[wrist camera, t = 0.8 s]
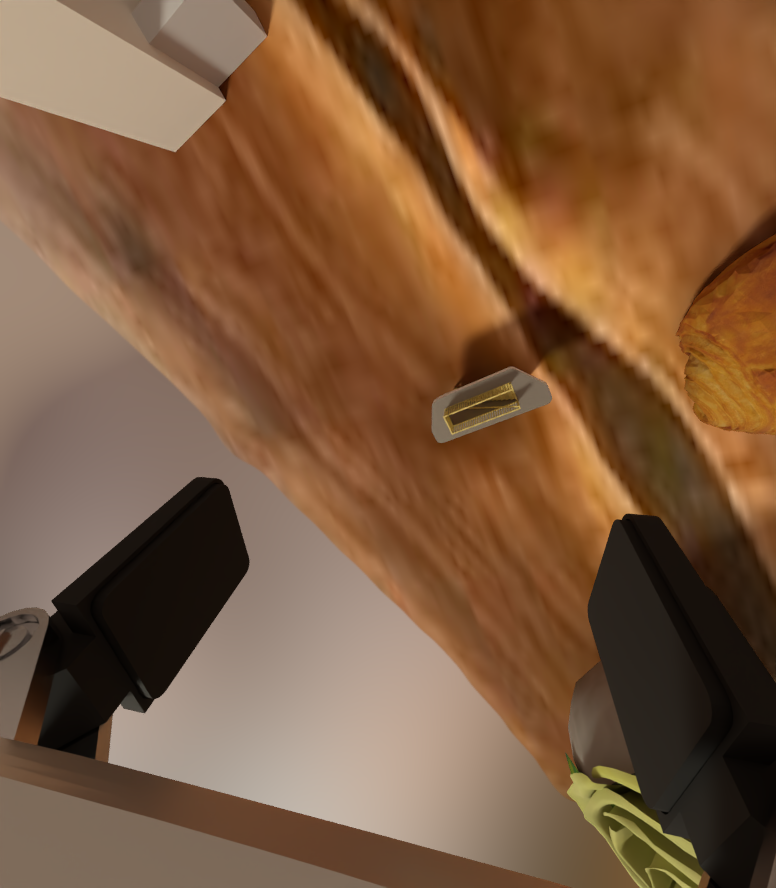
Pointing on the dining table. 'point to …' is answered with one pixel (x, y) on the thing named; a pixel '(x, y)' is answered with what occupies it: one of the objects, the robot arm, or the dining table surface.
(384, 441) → the dining table surface
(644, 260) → the dining table surface
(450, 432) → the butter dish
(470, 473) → the dining table surface
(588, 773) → the flower arrangement
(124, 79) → the post
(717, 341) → the croissant
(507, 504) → the dining table surface
